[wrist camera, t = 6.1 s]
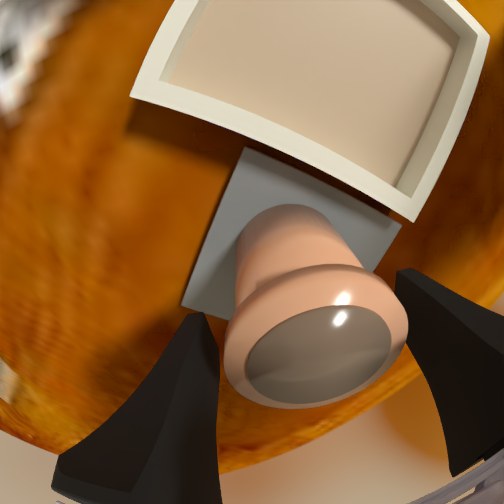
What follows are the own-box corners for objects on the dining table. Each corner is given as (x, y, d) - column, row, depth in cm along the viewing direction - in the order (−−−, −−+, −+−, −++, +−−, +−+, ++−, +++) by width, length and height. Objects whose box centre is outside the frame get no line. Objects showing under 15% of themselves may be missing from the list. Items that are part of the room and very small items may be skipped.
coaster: (396, 220, 12) (402, 225, 12) (317, 337, 16) (319, 344, 15) (244, 145, 11) (245, 147, 10) (182, 298, 14) (180, 305, 13)
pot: (355, 203, 11) (438, 285, 6) (330, 301, 14) (370, 403, 8) (231, 192, 11) (226, 282, 5) (226, 299, 13) (222, 413, 8)
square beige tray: (468, 38, 7) (490, 36, 6) (394, 208, 12) (413, 223, 10) (256, -85, 5) (259, -105, 3) (145, 97, 9) (129, 96, 8)
